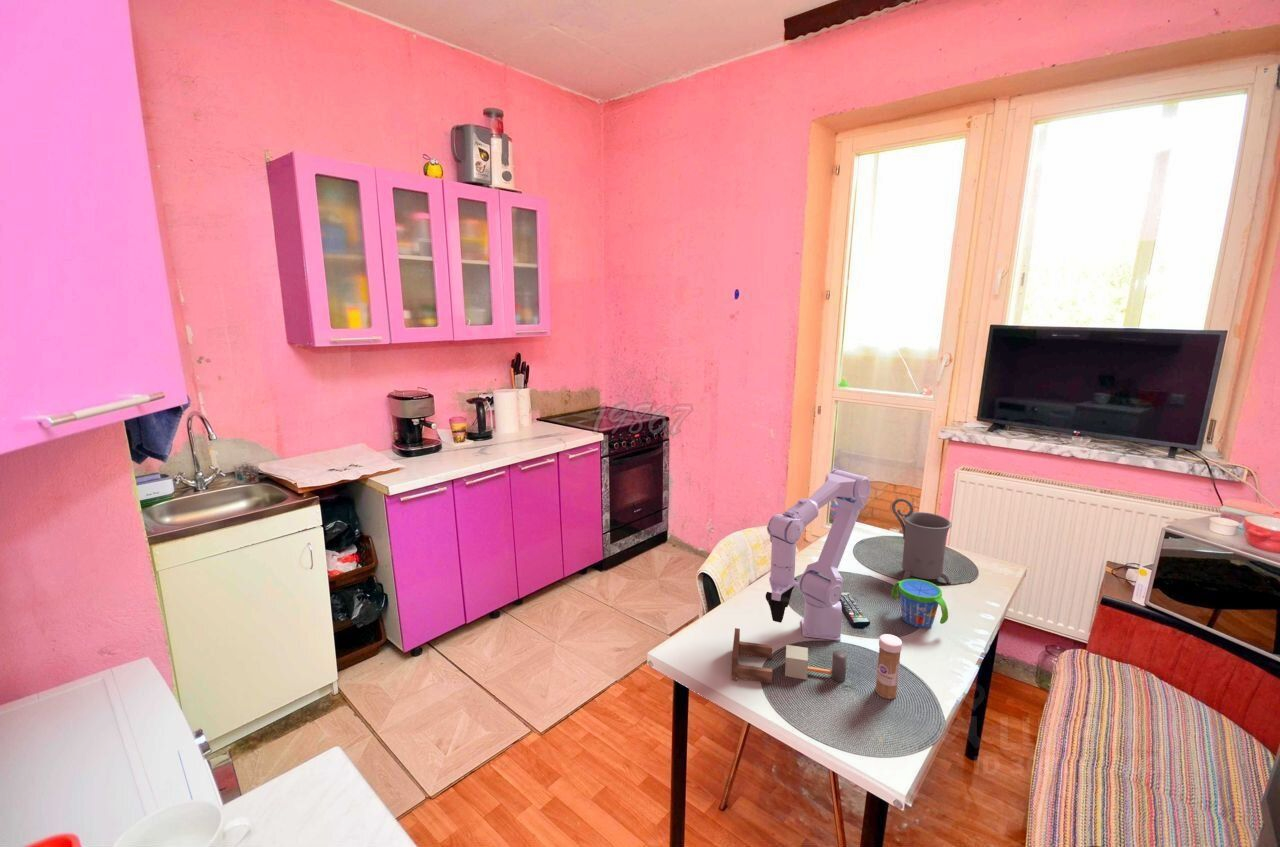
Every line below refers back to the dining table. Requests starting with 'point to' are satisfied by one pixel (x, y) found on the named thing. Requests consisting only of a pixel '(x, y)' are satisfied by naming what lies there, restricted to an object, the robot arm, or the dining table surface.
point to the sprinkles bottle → (888, 666)
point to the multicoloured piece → (799, 667)
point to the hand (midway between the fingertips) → (780, 613)
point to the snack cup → (920, 602)
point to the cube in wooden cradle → (750, 650)
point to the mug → (923, 543)
